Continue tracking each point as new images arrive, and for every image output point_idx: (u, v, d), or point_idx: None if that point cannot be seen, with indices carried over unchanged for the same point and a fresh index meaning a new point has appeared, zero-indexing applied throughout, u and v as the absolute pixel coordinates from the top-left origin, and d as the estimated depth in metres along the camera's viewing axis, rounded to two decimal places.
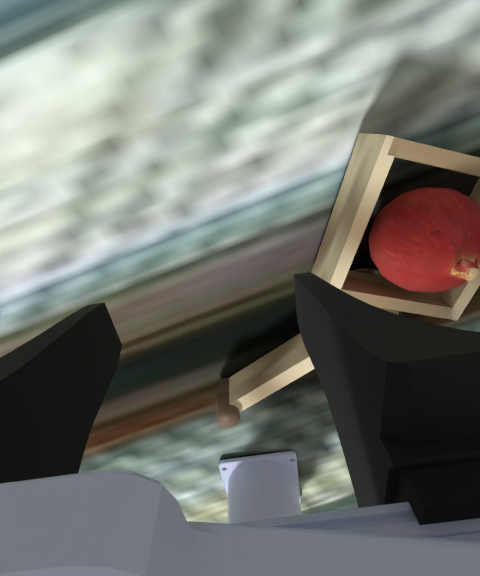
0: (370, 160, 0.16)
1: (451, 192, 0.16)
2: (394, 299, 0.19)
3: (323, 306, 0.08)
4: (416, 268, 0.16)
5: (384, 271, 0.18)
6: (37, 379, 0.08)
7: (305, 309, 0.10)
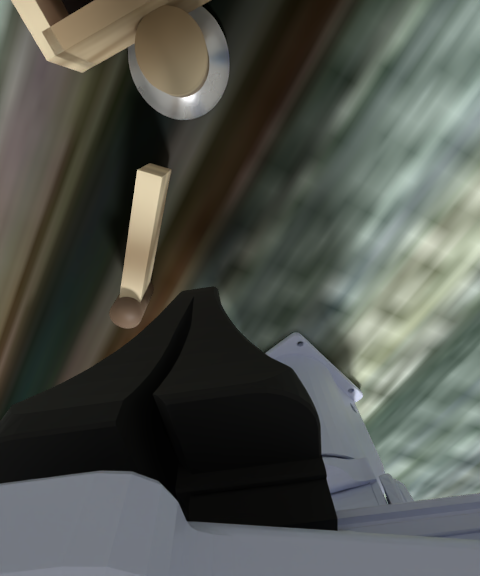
0: None
1: None
2: None
3: (191, 325, 0.08)
4: None
5: None
6: (175, 360, 0.08)
7: None
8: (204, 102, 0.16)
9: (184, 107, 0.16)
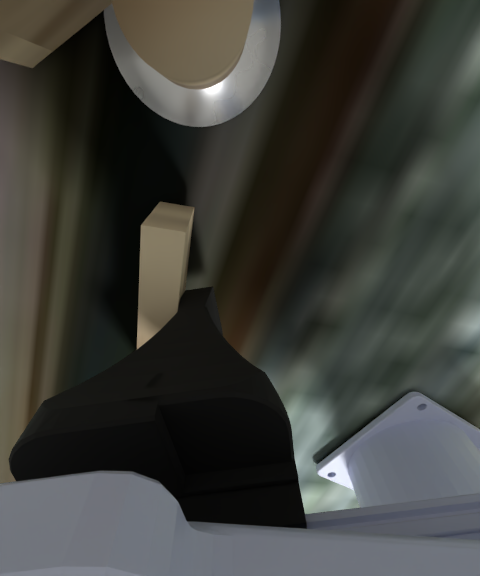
0: None
1: None
2: None
3: (174, 328, 0.08)
4: None
5: None
6: None
7: None
8: (244, 88, 0.10)
9: (213, 104, 0.10)
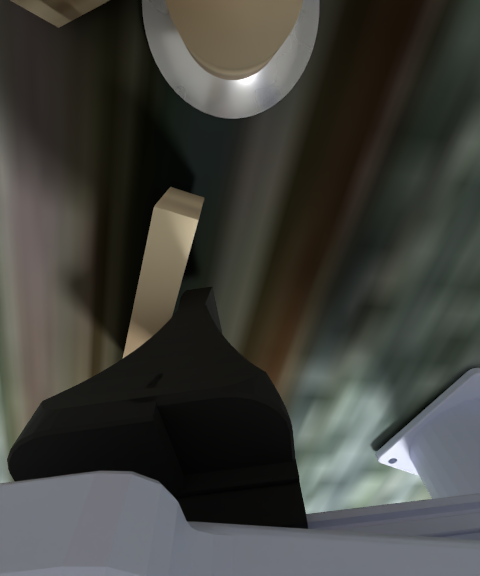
0: None
1: None
2: None
3: (174, 327, 0.08)
4: None
5: None
6: None
7: None
8: (285, 72, 0.09)
9: (254, 93, 0.10)
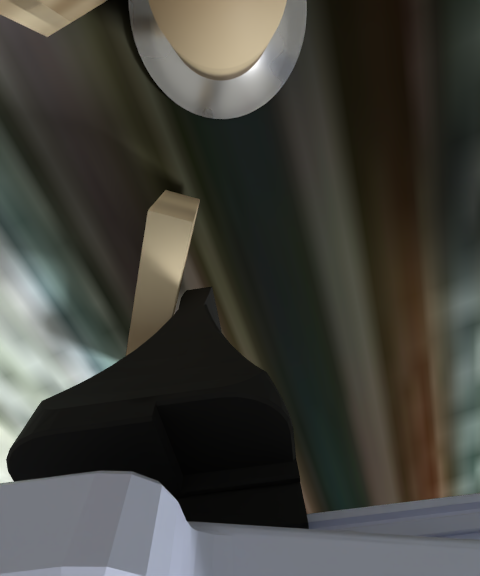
0: None
1: None
2: None
3: (174, 327, 0.08)
4: None
5: None
6: None
7: None
8: (289, 29, 0.09)
9: (270, 69, 0.09)
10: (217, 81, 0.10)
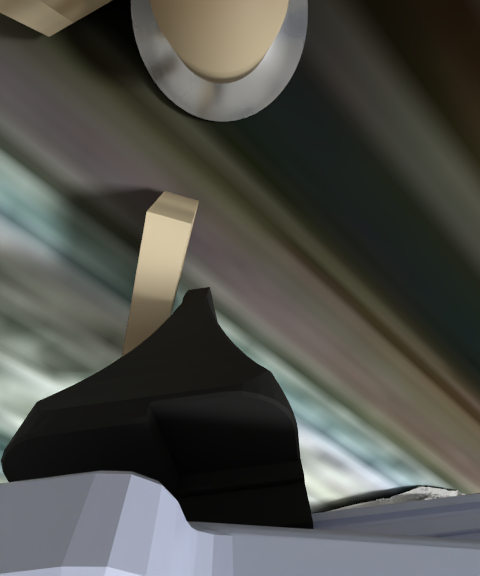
0: None
1: None
2: None
3: (177, 327, 0.08)
4: None
5: None
6: None
7: None
8: None
9: (286, 34, 0.09)
10: (243, 78, 0.10)
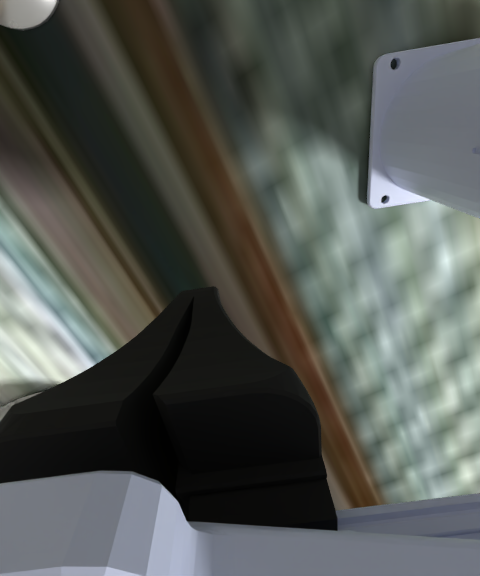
0: None
1: None
2: None
3: (191, 325, 0.08)
4: None
5: None
6: (175, 360, 0.08)
7: None
8: None
9: None
10: (13, 1, 0.15)
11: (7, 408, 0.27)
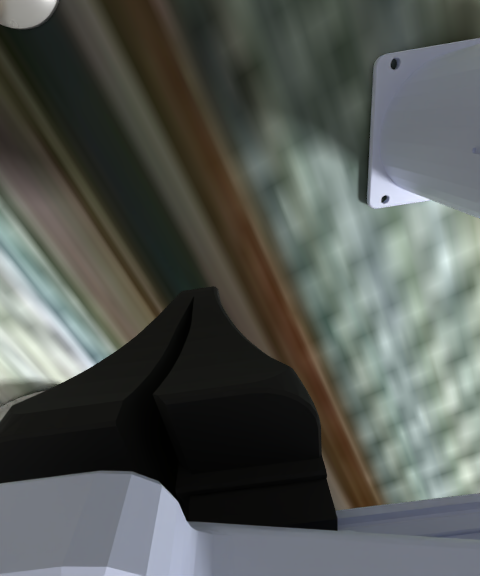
0: None
1: None
2: None
3: (191, 325, 0.08)
4: None
5: None
6: (175, 360, 0.08)
7: None
8: None
9: None
10: (13, 1, 0.15)
11: (7, 407, 0.27)
